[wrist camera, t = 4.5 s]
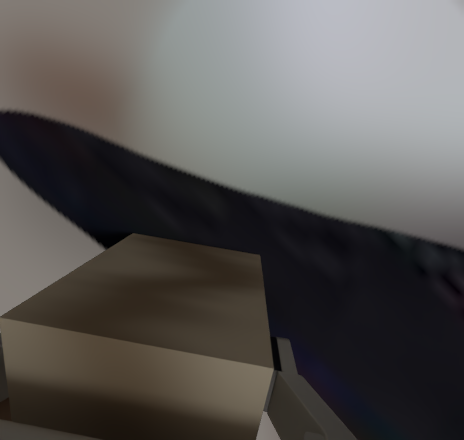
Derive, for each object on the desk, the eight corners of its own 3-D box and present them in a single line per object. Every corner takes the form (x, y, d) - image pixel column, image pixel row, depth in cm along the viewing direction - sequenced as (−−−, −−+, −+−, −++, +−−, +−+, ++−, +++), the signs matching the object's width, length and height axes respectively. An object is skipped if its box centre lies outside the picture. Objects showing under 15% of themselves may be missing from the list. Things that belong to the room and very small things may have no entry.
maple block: (259, 255, 11) (273, 368, 5) (238, 359, 12) (230, 539, 6) (132, 233, 11) (-1, 317, 5) (127, 338, 12) (21, 496, 7)
